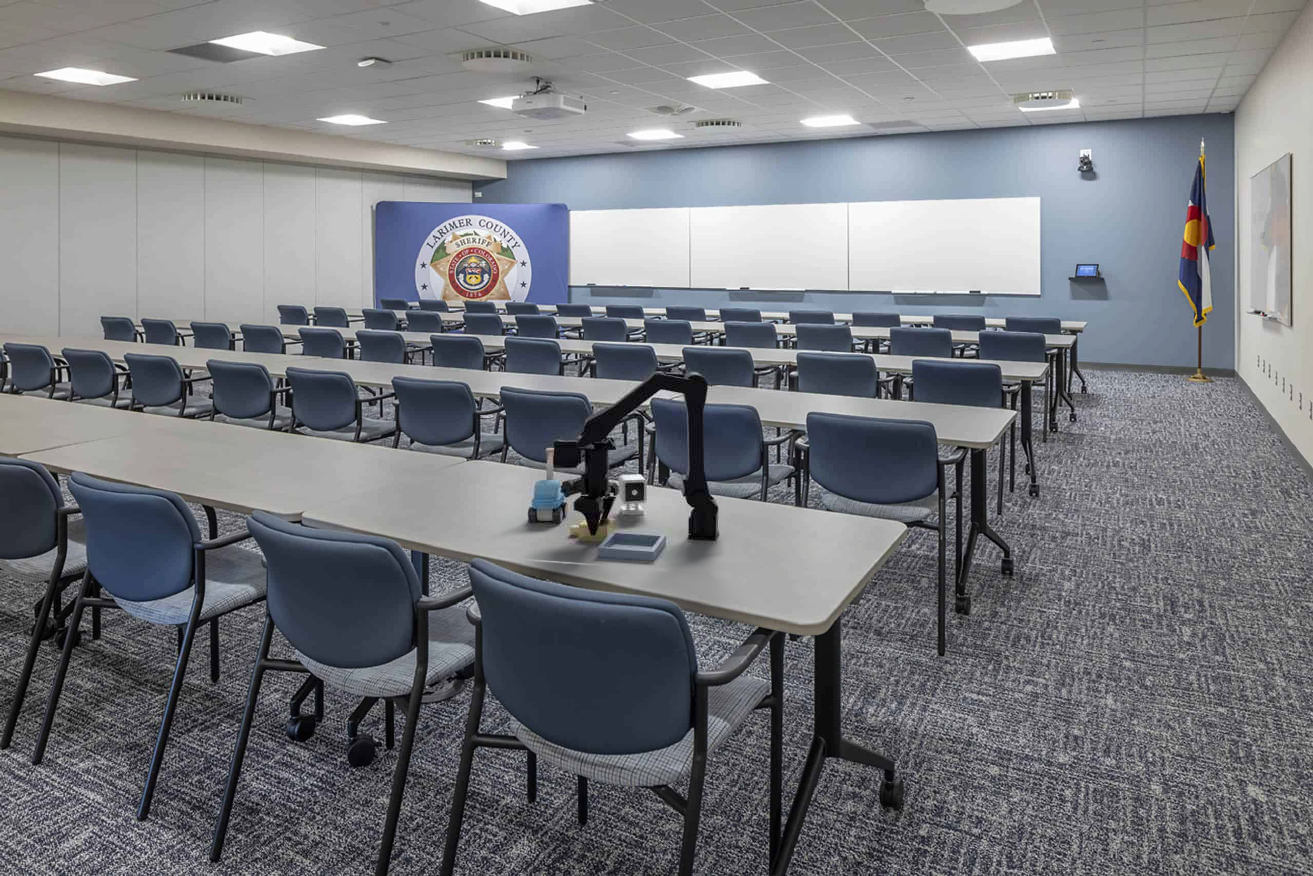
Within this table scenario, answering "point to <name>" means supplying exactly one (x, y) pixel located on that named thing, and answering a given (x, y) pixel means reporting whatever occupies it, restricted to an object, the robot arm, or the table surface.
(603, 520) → the grey peg base
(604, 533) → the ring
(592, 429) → the robot arm
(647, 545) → the tray
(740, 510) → the table surface
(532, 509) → the toy excavator
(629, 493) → the security camera
